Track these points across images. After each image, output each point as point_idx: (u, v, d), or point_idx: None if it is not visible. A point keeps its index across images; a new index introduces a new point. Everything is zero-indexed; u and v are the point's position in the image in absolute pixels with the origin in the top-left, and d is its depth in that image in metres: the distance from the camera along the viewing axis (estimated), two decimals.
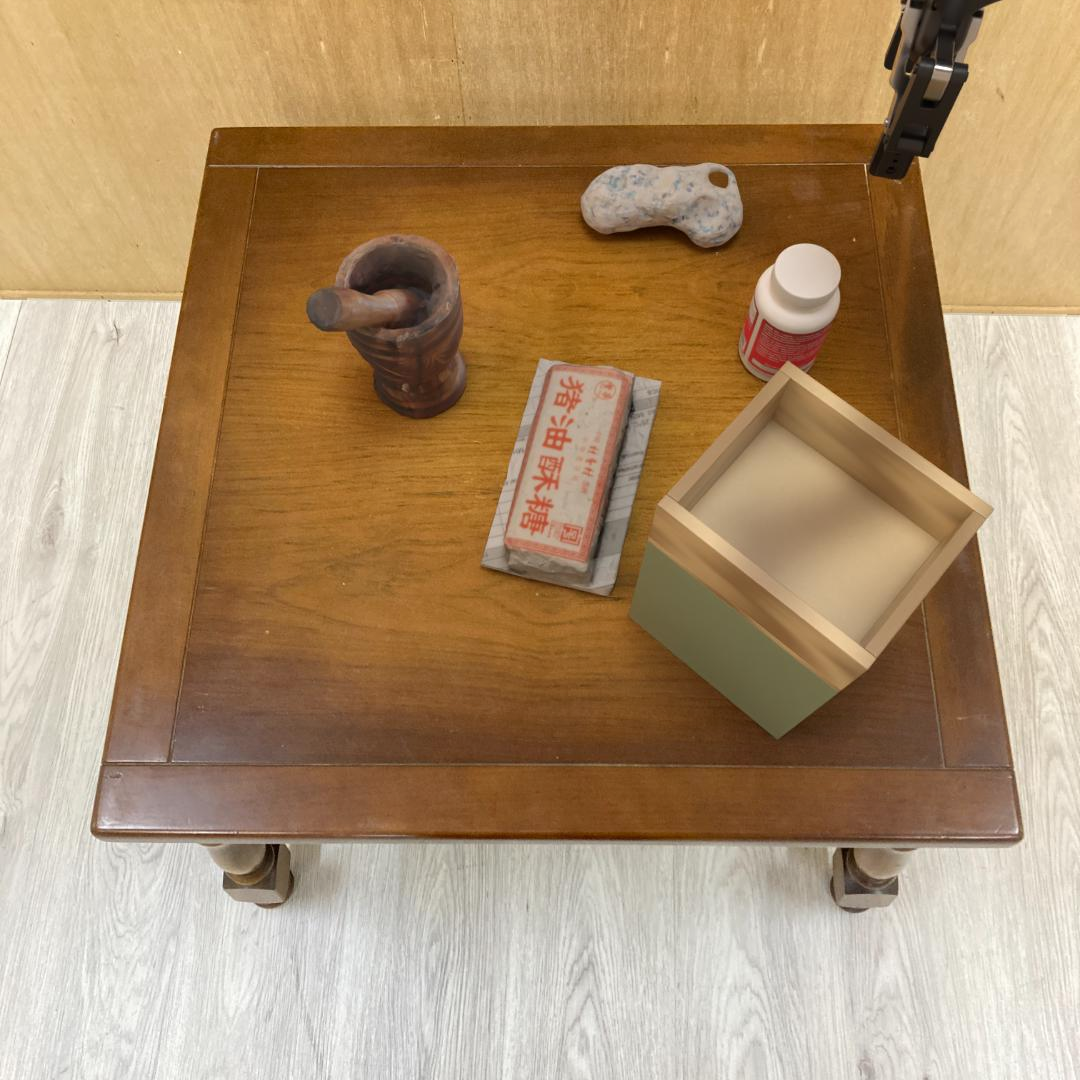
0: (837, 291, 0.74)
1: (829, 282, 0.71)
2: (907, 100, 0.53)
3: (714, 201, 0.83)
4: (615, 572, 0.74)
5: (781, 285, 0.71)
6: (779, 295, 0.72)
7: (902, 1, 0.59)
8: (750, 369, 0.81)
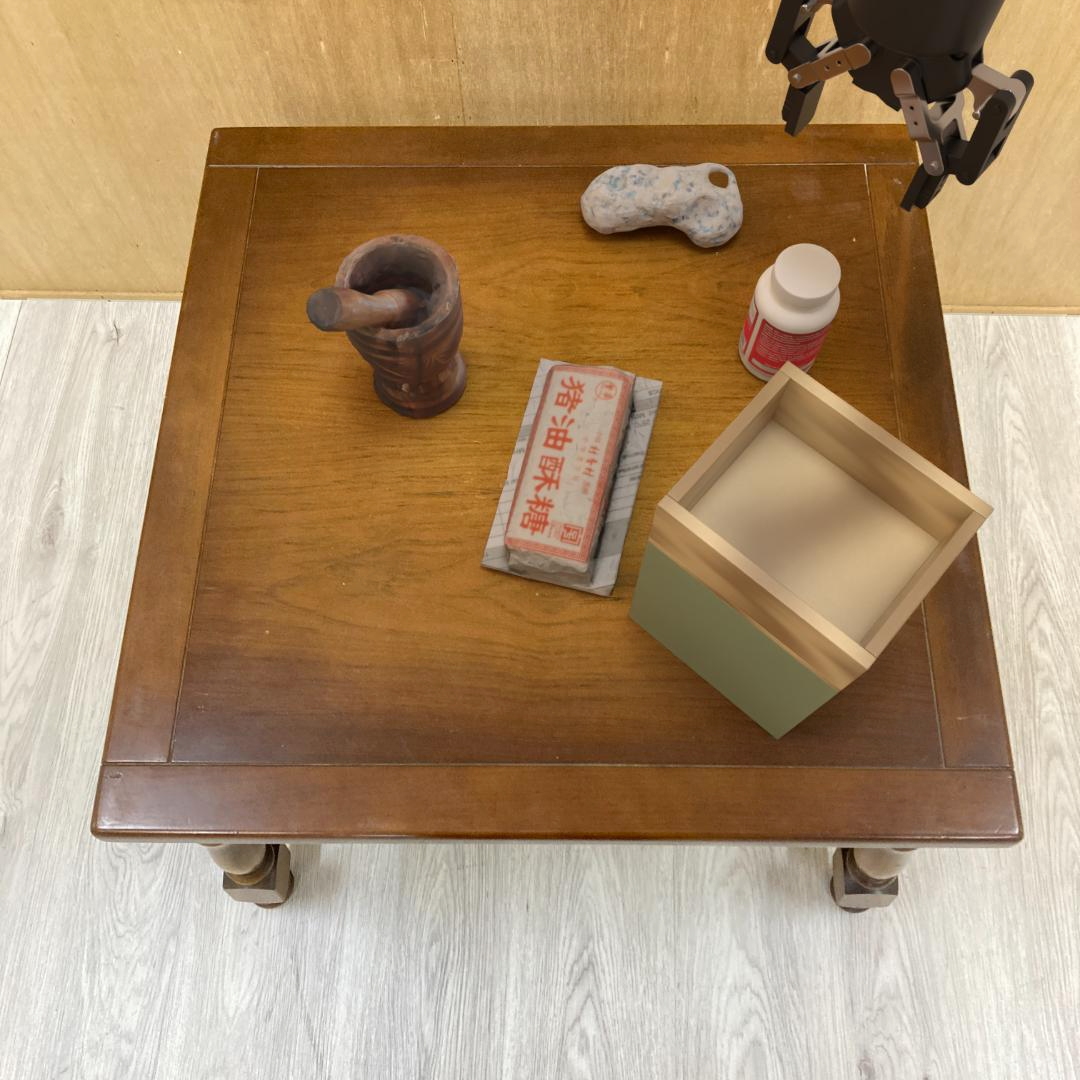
0: (837, 291, 0.74)
1: (829, 282, 0.71)
2: (997, 135, 0.52)
3: (714, 201, 0.83)
4: (615, 572, 0.74)
5: (781, 285, 0.71)
6: (779, 295, 0.72)
7: (825, 80, 0.57)
8: (750, 369, 0.81)
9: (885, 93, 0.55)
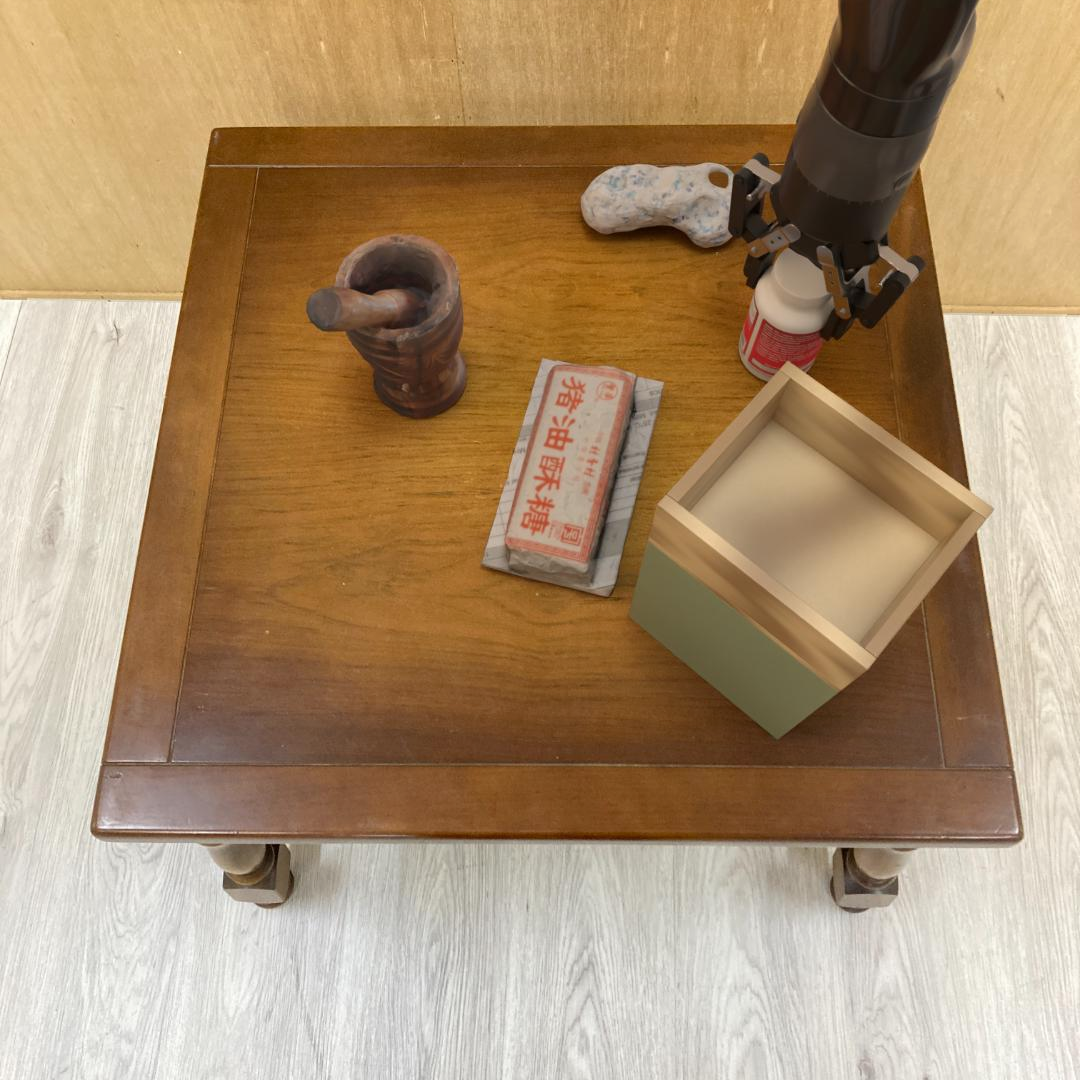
0: None
1: None
2: (894, 303, 0.66)
3: (714, 201, 0.83)
4: (615, 573, 0.74)
5: (781, 285, 0.71)
6: (779, 295, 0.72)
7: (773, 251, 0.70)
8: (750, 369, 0.81)
9: (814, 258, 0.68)
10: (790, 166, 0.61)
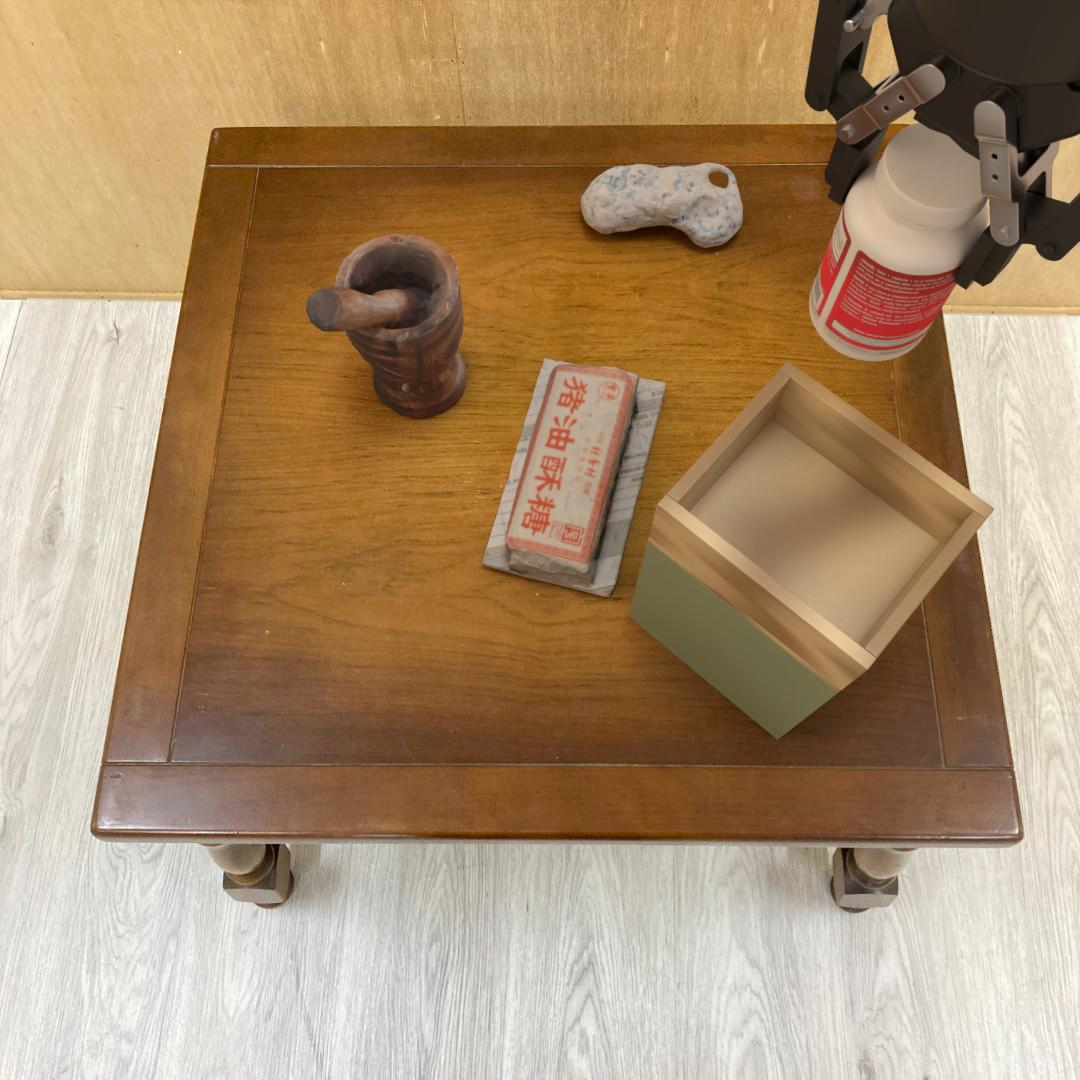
0: (984, 205, 0.44)
1: (978, 183, 0.42)
2: None
3: (714, 201, 0.83)
4: (616, 573, 0.74)
5: (897, 187, 0.42)
6: (891, 207, 0.43)
7: (885, 126, 0.41)
8: (828, 339, 0.51)
9: (962, 134, 0.39)
10: None
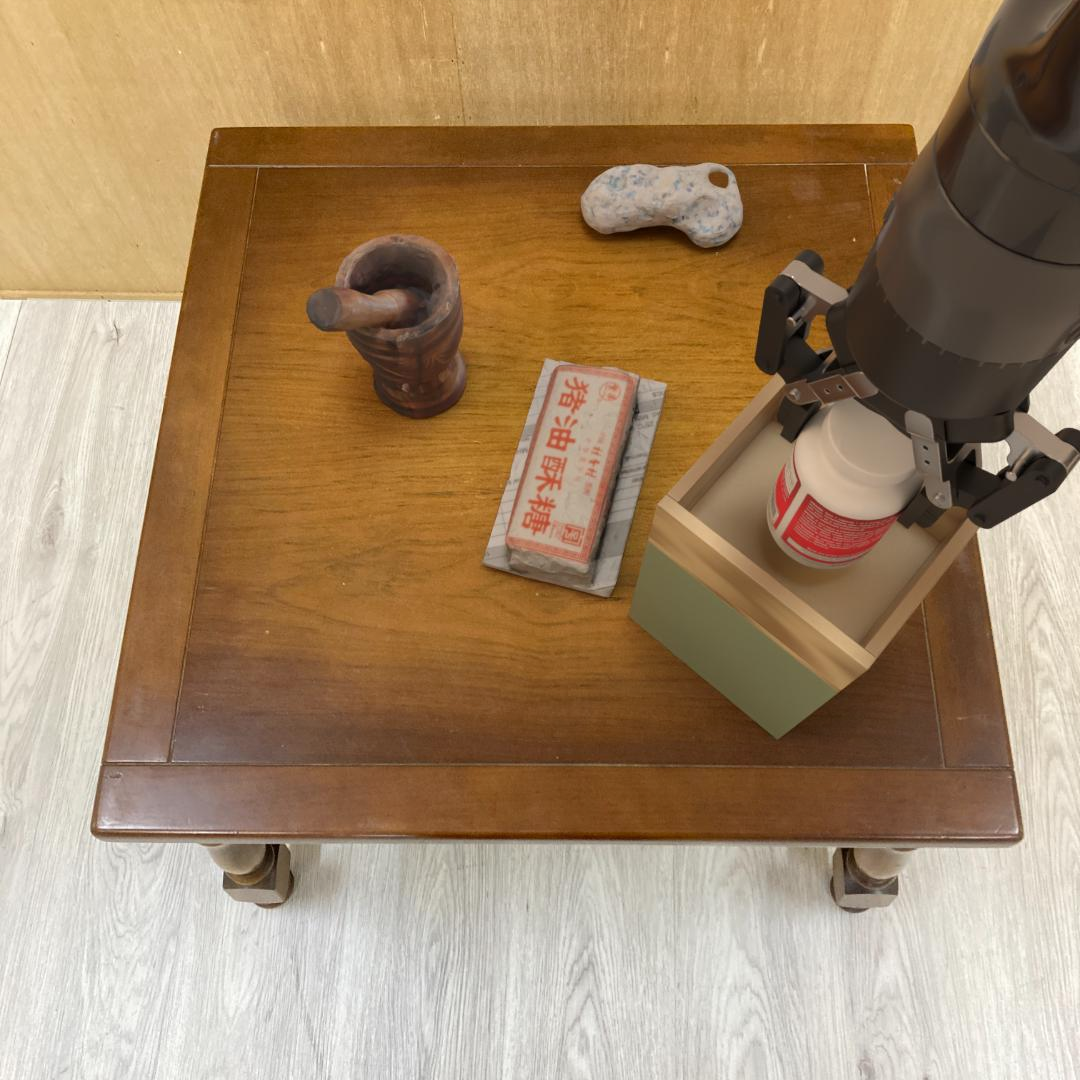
0: None
1: None
2: (1034, 503, 0.40)
3: (714, 201, 0.83)
4: (616, 574, 0.74)
5: (840, 453, 0.45)
6: (835, 466, 0.46)
7: None
8: (784, 549, 0.54)
9: (897, 420, 0.42)
10: (871, 292, 0.35)
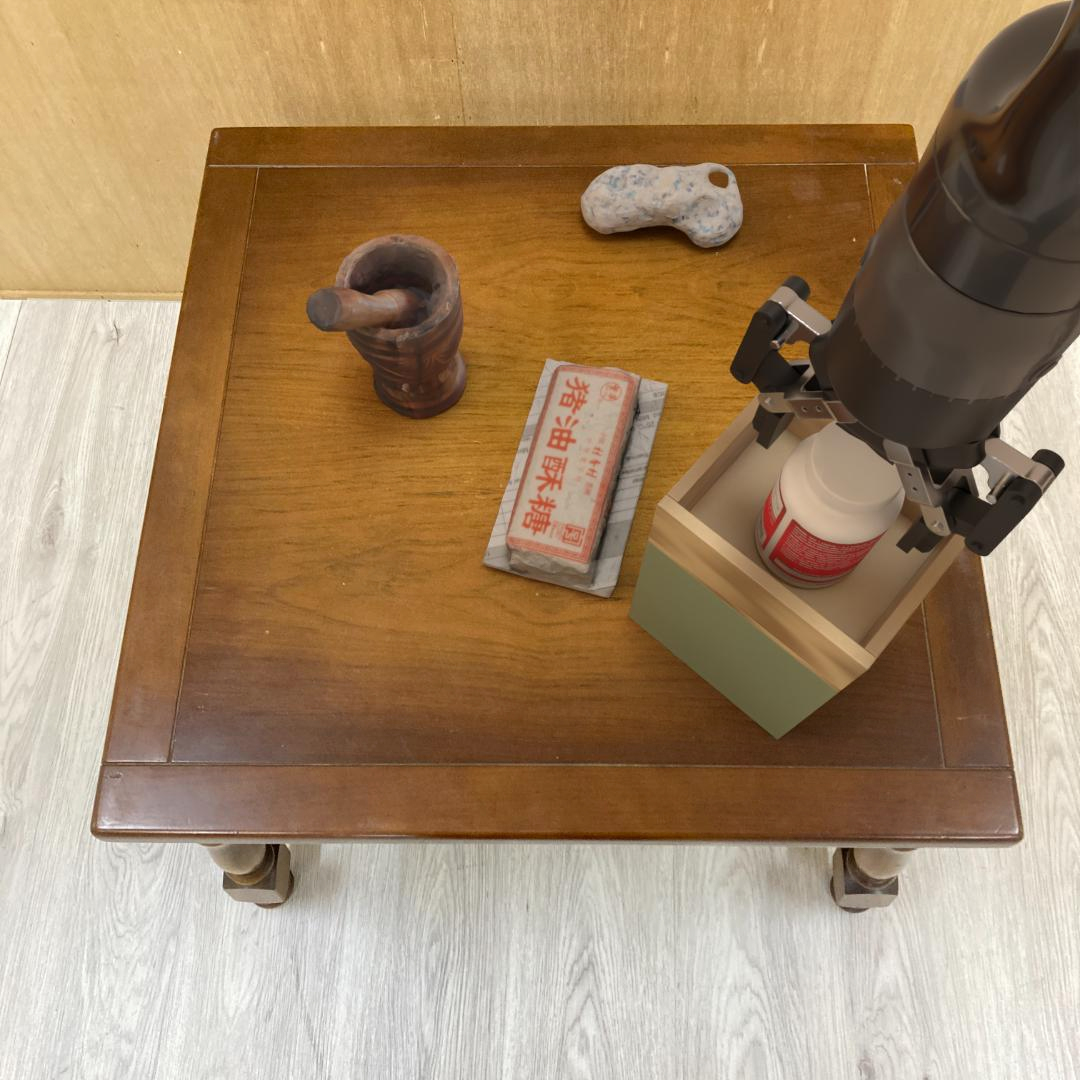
0: None
1: (892, 479, 0.48)
2: None
3: (714, 201, 0.83)
4: (616, 574, 0.74)
5: (822, 482, 0.48)
6: (818, 494, 0.49)
7: None
8: (771, 569, 0.57)
9: (877, 446, 0.44)
10: (849, 331, 0.37)
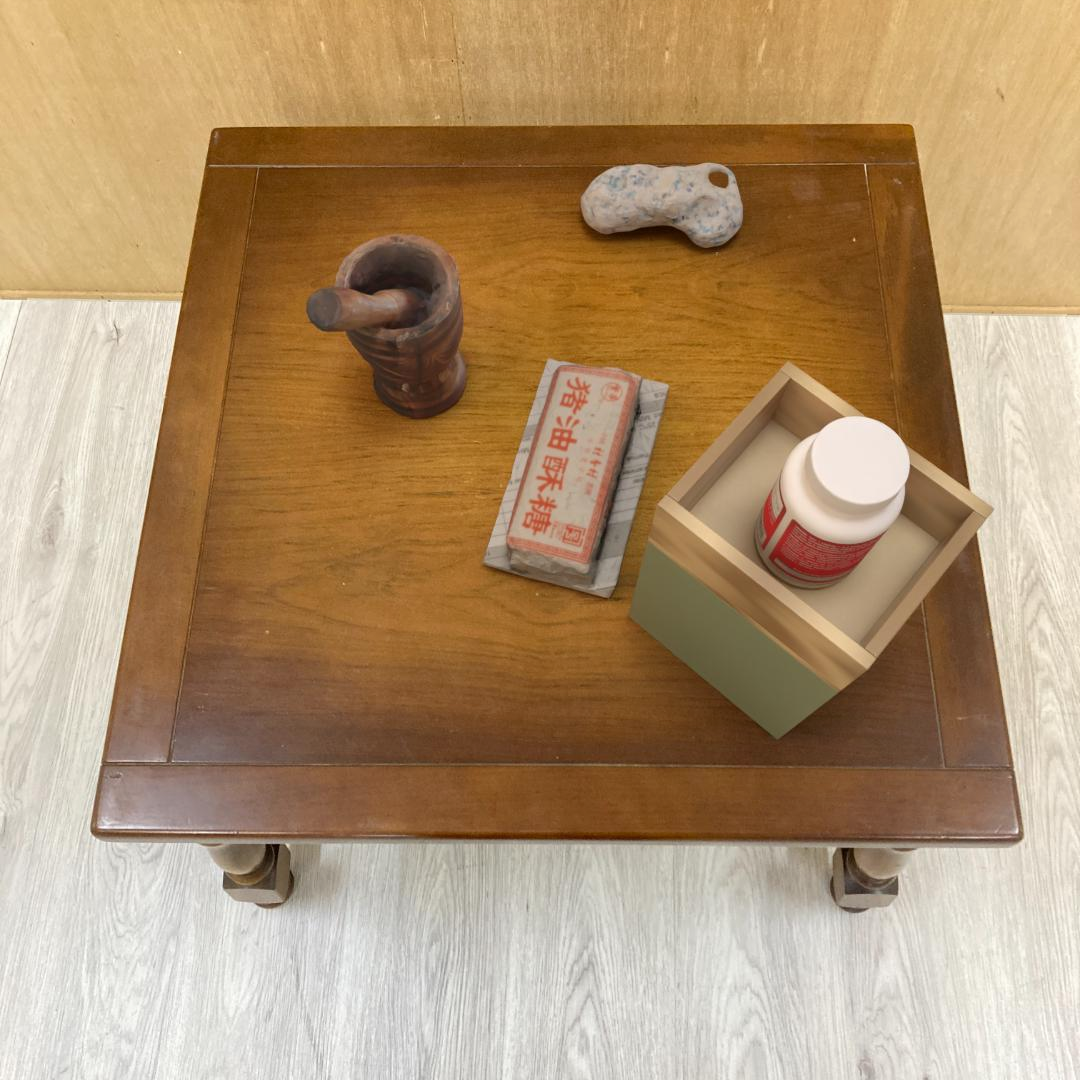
0: None
1: (892, 479, 0.48)
2: None
3: (714, 201, 0.83)
4: (617, 574, 0.74)
5: (822, 482, 0.48)
6: (818, 494, 0.49)
7: None
8: (771, 569, 0.57)
9: None
10: None
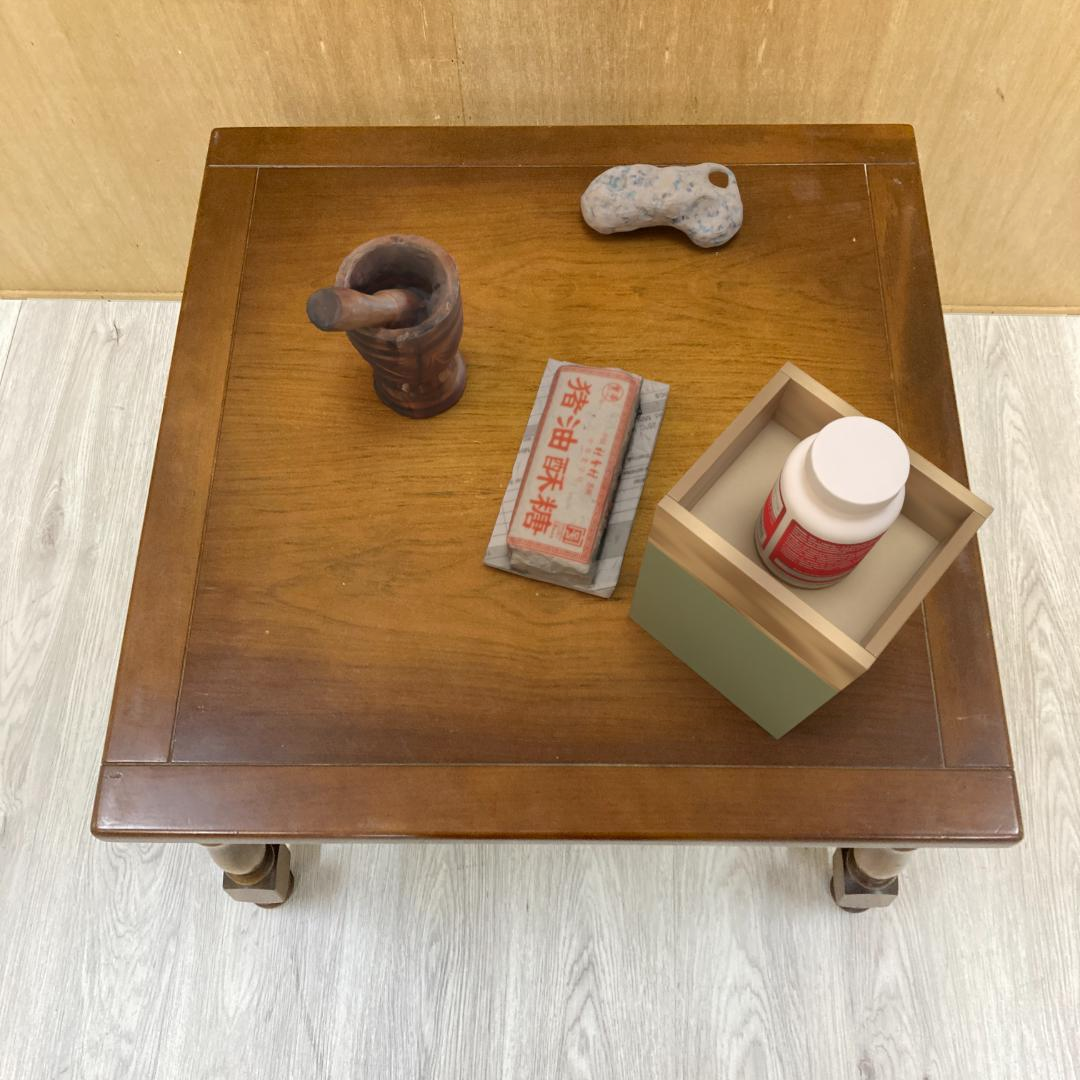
0: None
1: (892, 478, 0.48)
2: None
3: (714, 201, 0.83)
4: (617, 574, 0.74)
5: (822, 482, 0.48)
6: (818, 494, 0.49)
7: None
8: (771, 569, 0.57)
9: None
10: None
